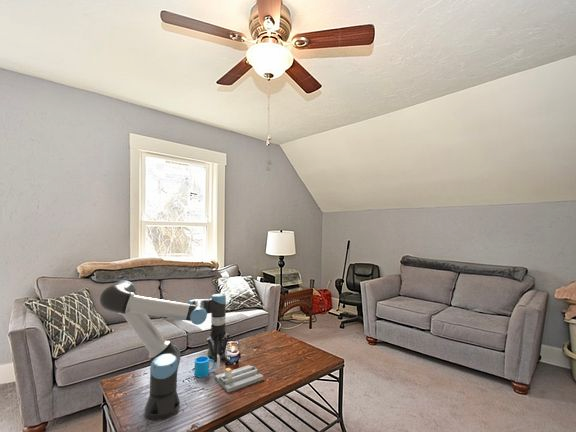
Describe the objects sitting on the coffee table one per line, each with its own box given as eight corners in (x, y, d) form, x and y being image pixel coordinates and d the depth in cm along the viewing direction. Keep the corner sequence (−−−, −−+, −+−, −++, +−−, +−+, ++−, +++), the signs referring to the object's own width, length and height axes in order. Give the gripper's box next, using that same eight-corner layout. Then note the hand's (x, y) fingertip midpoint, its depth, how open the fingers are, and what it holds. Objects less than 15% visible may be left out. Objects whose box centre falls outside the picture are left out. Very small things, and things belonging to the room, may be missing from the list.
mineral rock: (229, 360, 186) (229, 344, 186) (213, 364, 180) (213, 348, 180) (221, 352, 197) (221, 337, 197) (206, 356, 190) (206, 341, 191)
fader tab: (227, 381, 157) (227, 371, 157) (224, 378, 160) (225, 368, 160) (231, 379, 159) (231, 369, 159) (228, 377, 161) (229, 367, 161)
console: (227, 392, 150) (228, 385, 150) (215, 379, 163) (215, 372, 163) (263, 379, 164) (263, 373, 164) (249, 368, 176) (249, 362, 177)
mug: (195, 378, 163) (196, 363, 163) (193, 371, 170) (193, 357, 171) (216, 373, 169) (217, 359, 169) (213, 367, 176) (213, 354, 176)
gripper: (209, 328, 149) (208, 374, 148) (232, 323, 157) (231, 366, 156) (204, 323, 155) (203, 368, 154) (226, 319, 163) (225, 361, 162)
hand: (217, 367), depth 155 cm, fingers closed
